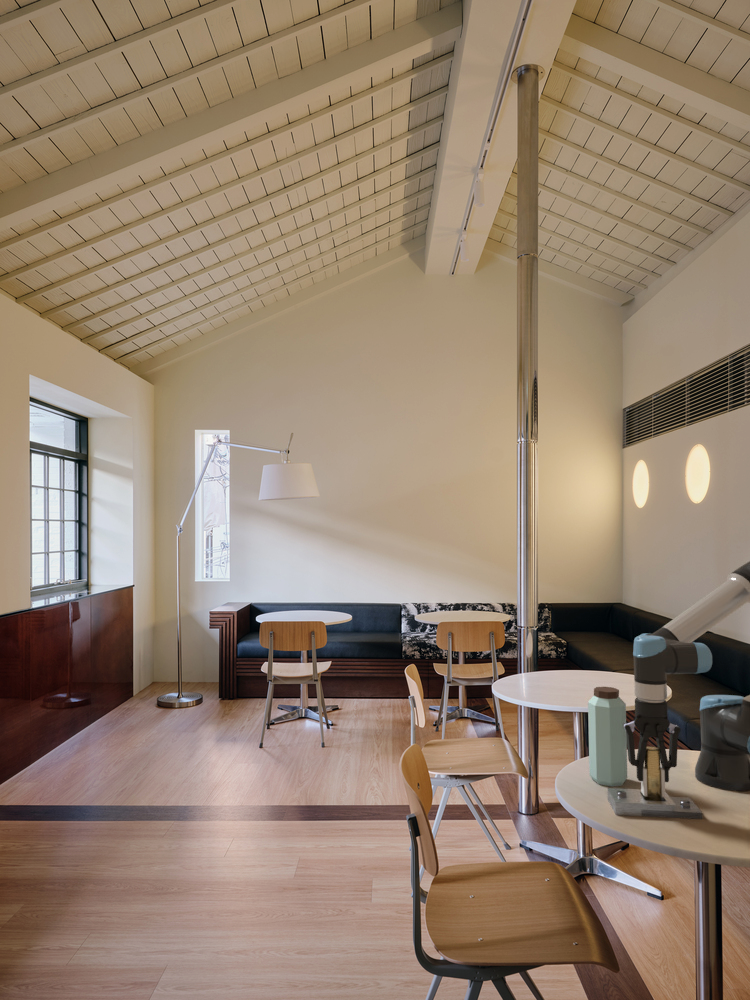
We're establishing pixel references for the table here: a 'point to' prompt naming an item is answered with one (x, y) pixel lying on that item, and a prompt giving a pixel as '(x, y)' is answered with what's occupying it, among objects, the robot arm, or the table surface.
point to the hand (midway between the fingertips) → (653, 794)
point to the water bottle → (607, 737)
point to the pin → (653, 774)
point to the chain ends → (651, 805)
